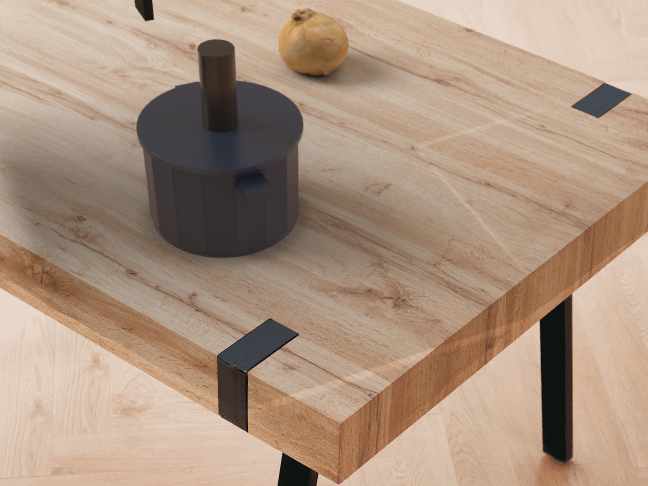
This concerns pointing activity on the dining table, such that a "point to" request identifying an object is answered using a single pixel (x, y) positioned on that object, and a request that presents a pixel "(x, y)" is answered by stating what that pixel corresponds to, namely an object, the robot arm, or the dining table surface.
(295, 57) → the onion
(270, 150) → the lid
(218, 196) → the pot
